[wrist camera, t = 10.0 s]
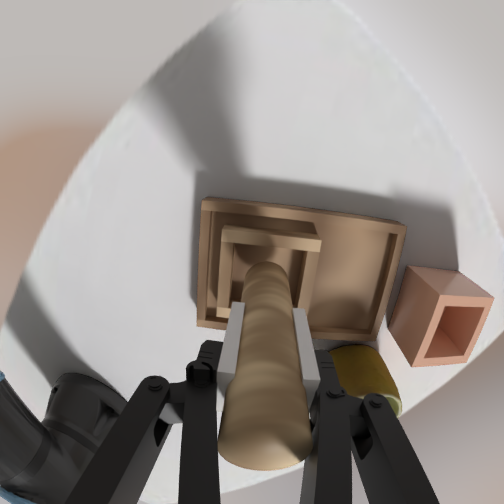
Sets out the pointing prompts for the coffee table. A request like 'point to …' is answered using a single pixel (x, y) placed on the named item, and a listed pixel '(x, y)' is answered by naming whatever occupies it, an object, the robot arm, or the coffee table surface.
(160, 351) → the coffee table surface
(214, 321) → the tray
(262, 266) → the dowel
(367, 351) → the mug
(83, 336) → the coffee table surface
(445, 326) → the pink hollow box
